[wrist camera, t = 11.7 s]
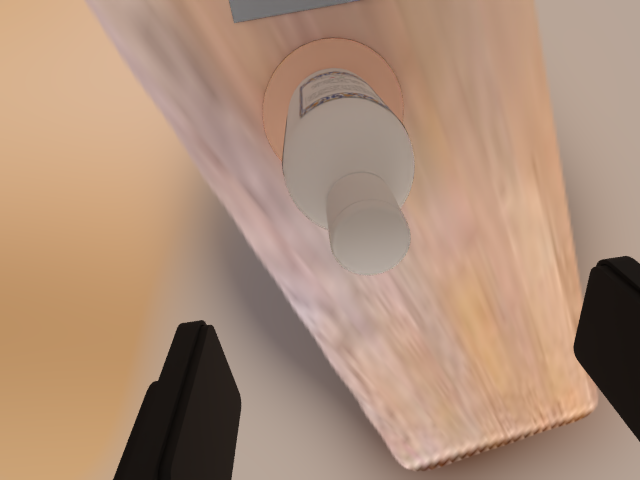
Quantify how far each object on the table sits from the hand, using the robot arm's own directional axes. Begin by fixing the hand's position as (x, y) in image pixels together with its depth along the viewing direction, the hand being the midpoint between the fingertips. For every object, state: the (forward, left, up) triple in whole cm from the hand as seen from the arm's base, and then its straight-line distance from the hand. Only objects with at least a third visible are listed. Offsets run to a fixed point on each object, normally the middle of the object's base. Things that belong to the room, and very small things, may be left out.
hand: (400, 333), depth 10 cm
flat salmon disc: (0, 0, -26) cm, 25 cm away
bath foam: (0, 0, -25) cm, 25 cm away
